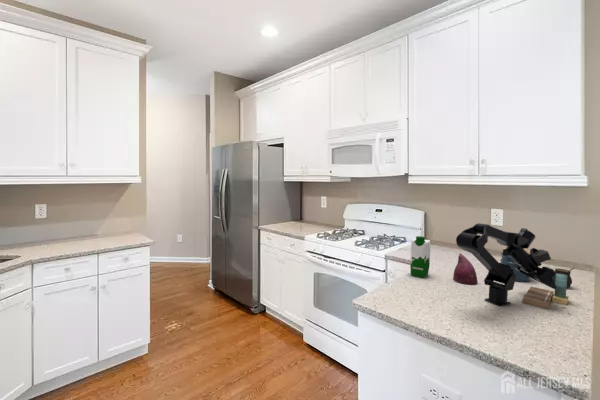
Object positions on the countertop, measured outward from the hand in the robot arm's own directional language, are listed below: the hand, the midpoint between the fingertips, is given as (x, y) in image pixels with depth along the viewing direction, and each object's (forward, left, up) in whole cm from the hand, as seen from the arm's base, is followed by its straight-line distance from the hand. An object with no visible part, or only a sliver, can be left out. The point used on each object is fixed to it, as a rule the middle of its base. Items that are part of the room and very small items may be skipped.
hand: (547, 284), depth 128 cm
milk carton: (-26, +44, -7) cm, 51 cm away
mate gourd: (+26, +9, -7) cm, 29 cm away
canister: (+17, +25, -7) cm, 31 cm away
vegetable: (-12, +29, -7) cm, 32 cm away
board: (-2, +2, -7) cm, 7 cm away
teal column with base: (+5, -2, -7) cm, 8 cm away
